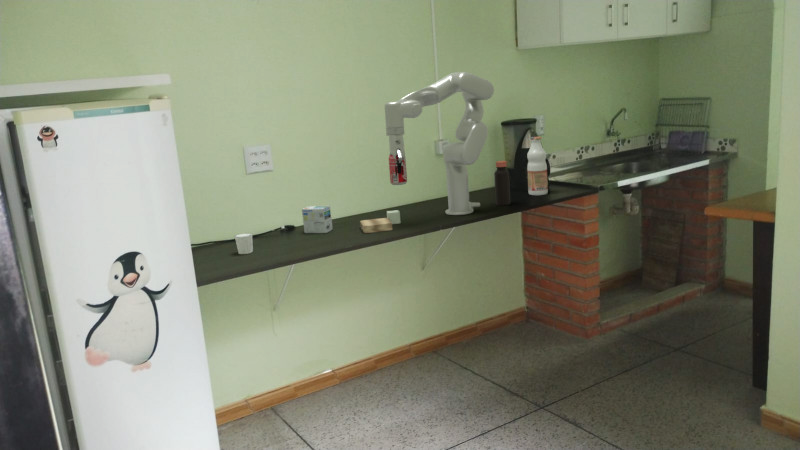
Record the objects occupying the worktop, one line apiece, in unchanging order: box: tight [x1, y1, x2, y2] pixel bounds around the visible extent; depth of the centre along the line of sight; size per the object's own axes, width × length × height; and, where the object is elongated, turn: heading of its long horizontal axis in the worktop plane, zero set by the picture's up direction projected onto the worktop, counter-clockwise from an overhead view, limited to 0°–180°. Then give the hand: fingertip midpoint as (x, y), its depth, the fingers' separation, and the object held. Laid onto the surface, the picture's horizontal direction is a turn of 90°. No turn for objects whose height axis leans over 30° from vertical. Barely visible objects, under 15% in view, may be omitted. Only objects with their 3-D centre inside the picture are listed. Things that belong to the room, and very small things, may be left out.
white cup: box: [234, 232, 254, 255], centre depth 268 cm, size 7×7×7 cm
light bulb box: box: [301, 205, 333, 234], centre depth 294 cm, size 11×7×11 cm, turn 71°
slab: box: [359, 217, 393, 234], centre depth 291 cm, size 12×12×3 cm
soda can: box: [388, 153, 408, 186], centre depth 288 cm, size 7×7×13 cm
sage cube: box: [386, 209, 402, 225], centre depth 299 cm, size 5×5×5 cm
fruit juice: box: [526, 136, 549, 196], centre depth 335 cm, size 9×9×28 cm
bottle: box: [494, 160, 511, 207], centre depth 318 cm, size 7×7×20 cm
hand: (397, 174), depth 289 cm, fingers closed on soda can, 6 cm apart
